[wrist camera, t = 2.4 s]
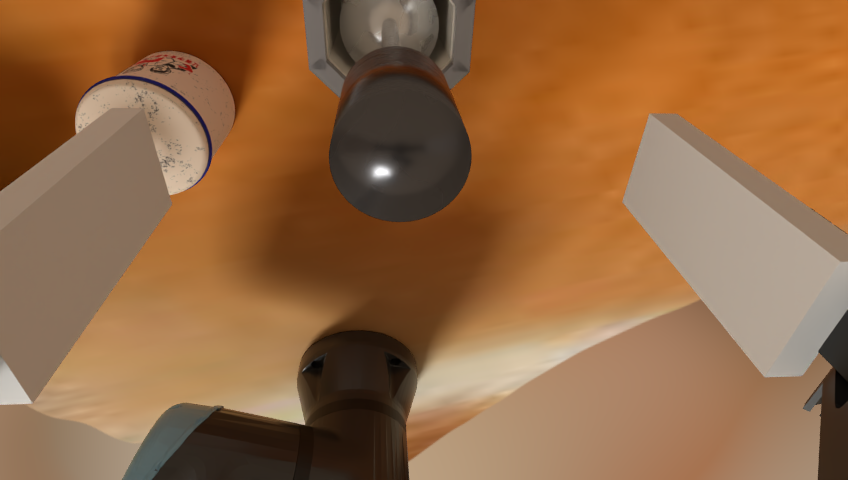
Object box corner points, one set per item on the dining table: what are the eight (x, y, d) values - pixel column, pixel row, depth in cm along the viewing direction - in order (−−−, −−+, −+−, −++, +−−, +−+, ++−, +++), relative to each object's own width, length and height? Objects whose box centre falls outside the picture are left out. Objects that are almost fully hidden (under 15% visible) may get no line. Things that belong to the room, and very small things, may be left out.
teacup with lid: (204, 31, 39) (147, 71, 30) (257, 133, 44) (223, 195, 35) (72, 76, 40) (-23, 129, 31) (139, 171, 45) (74, 241, 36)
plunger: (435, 74, 32) (493, 247, 16) (343, 73, 32) (303, 250, 15) (440, -30, 29) (521, 52, 12) (337, -33, 28) (278, 47, 12)
